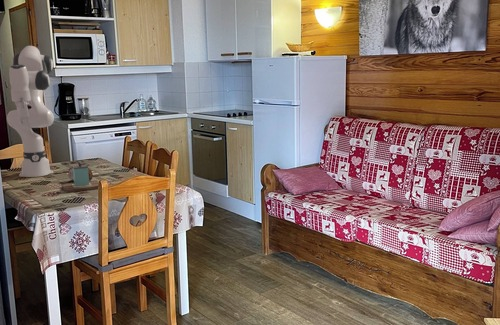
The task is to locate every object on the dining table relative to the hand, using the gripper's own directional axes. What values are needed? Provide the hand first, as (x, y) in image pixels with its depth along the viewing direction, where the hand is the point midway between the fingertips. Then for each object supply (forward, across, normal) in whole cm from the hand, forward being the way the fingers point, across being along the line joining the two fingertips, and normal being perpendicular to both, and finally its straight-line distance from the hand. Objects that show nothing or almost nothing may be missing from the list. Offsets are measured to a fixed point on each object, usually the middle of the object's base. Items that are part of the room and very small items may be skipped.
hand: (24, 124), depth 256 cm
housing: (+32, -10, -24) cm, 42 cm away
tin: (+34, +6, -26) cm, 43 cm away
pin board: (+34, -10, -24) cm, 43 cm away
